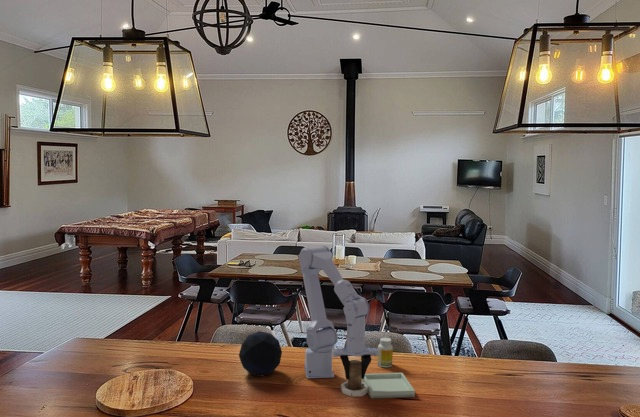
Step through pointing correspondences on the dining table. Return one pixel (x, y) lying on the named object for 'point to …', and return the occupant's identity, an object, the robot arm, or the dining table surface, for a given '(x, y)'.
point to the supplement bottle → (385, 353)
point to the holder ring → (354, 392)
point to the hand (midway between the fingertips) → (354, 377)
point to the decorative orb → (260, 353)
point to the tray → (388, 385)
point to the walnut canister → (355, 375)
